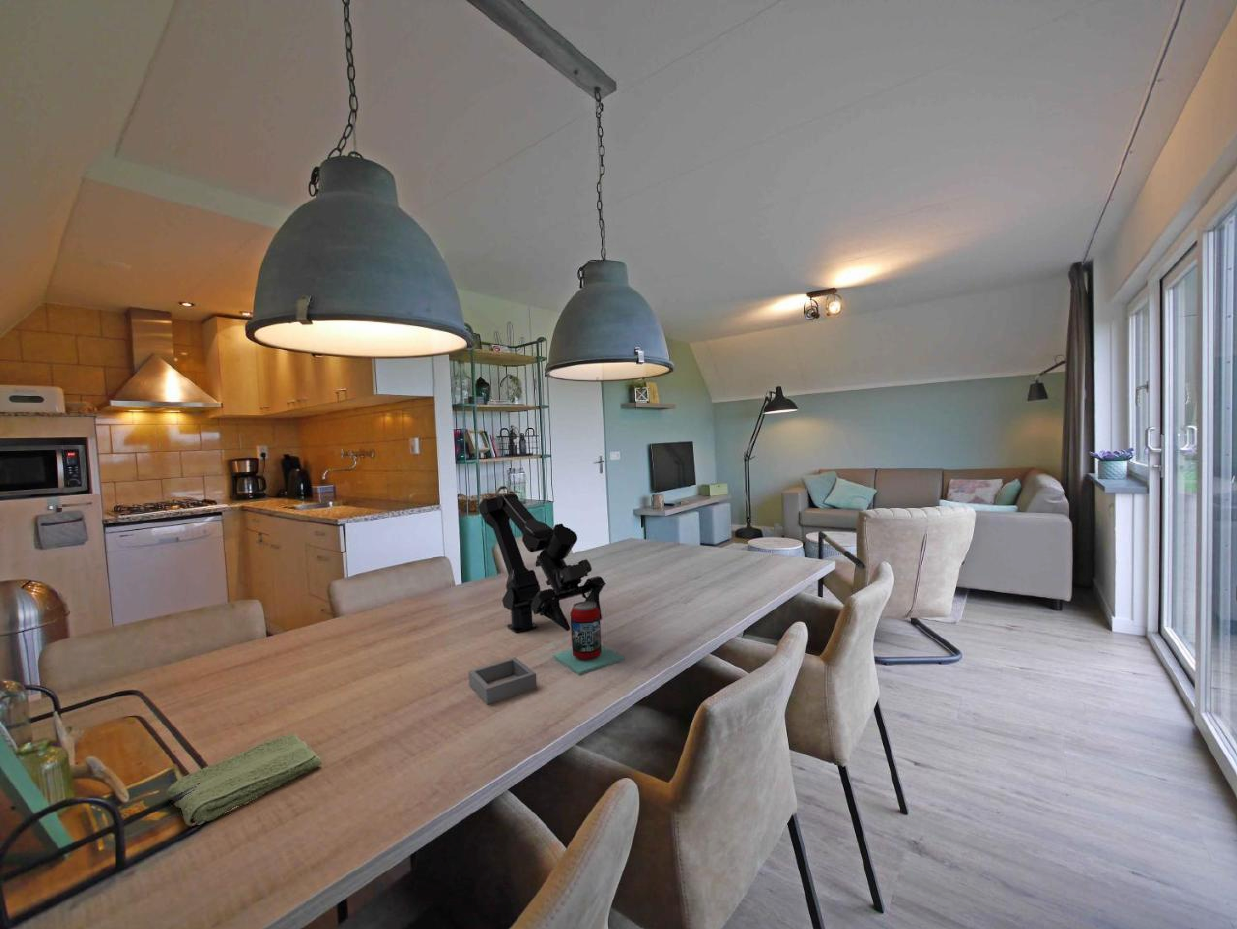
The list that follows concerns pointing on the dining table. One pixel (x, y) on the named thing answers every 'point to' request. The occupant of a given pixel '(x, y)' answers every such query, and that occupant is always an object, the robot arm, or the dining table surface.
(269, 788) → the washcloth
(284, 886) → the dining table surface
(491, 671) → the can holder
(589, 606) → the beverage can
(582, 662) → the teal mat
